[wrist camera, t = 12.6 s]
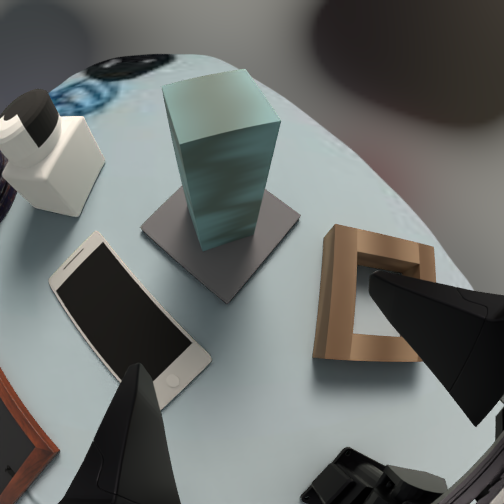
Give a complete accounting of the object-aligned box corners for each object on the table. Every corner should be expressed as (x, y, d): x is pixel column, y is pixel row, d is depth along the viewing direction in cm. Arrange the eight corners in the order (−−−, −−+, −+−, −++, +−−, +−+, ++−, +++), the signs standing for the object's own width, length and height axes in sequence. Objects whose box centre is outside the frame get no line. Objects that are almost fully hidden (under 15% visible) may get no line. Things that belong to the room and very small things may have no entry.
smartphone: (155, 415, 19) (152, 417, 18) (51, 283, 21) (46, 280, 20) (214, 358, 21) (214, 358, 20) (100, 232, 24) (96, 228, 23)
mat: (299, 218, 25) (300, 215, 25) (227, 304, 22) (227, 303, 21) (216, 159, 27) (216, 155, 26) (141, 229, 23) (139, 227, 23)
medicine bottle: (61, 156, 26) (17, 84, 14) (107, 160, 26) (66, 74, 14) (34, 209, 23) (-28, 145, 12) (79, 219, 23) (13, 143, 12)
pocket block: (416, 257, 25) (433, 246, 22) (414, 361, 21) (433, 361, 19) (323, 237, 25) (335, 223, 22) (312, 357, 21) (324, 358, 18)
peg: (235, 190, 25) (245, 68, 13) (254, 234, 24) (281, 121, 11) (187, 205, 24) (161, 86, 12) (202, 251, 23) (179, 144, 10)
